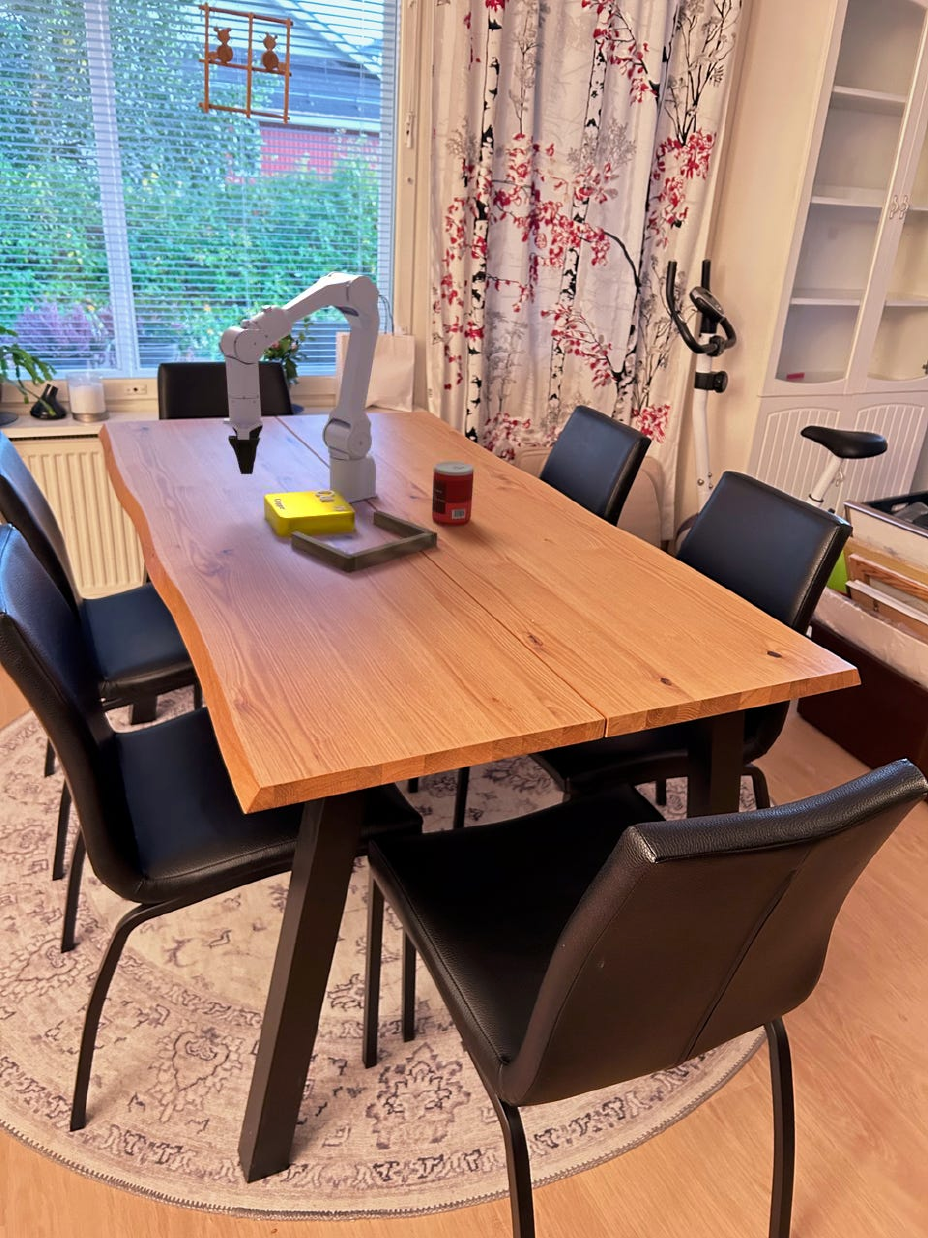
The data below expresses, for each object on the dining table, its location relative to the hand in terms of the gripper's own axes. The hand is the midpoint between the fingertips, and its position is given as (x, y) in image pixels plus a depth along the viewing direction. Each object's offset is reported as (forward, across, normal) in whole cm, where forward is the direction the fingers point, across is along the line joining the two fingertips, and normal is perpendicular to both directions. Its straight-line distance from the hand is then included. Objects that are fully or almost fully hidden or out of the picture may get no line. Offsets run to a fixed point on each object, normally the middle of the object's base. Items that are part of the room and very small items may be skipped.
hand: (248, 467), depth 170 cm
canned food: (+10, +2, +39) cm, 41 cm away
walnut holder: (+10, +16, +21) cm, 28 cm away
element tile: (+10, +4, +11) cm, 16 cm away
